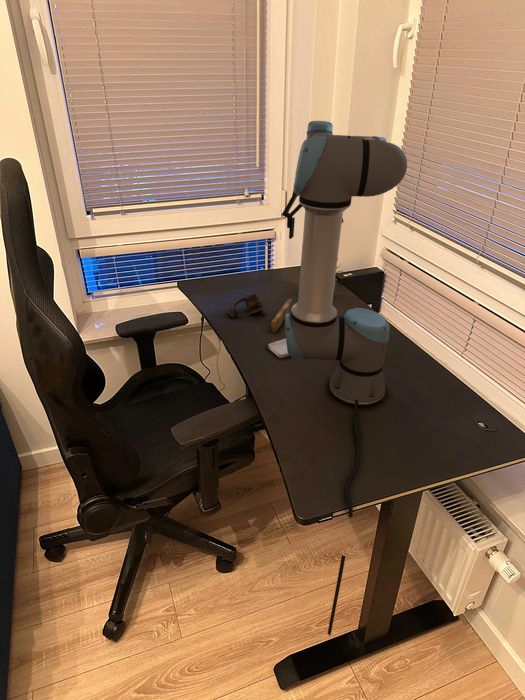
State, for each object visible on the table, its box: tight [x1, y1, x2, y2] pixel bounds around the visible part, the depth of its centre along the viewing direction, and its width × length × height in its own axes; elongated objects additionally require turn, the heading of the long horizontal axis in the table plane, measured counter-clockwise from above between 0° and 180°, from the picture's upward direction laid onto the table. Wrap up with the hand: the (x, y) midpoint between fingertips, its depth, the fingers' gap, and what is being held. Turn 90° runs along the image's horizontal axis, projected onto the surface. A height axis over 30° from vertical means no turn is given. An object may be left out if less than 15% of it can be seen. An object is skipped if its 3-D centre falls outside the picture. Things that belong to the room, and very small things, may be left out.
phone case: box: [267, 338, 291, 359], centre depth 157 cm, size 7×1×15 cm
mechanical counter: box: [226, 292, 265, 318], centre depth 174 cm, size 7×13×10 cm
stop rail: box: [270, 298, 293, 334], centre depth 171 cm, size 18×1×4 cm, turn 159°
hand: (310, 240), depth 168 cm, fingers open, 13 cm apart
